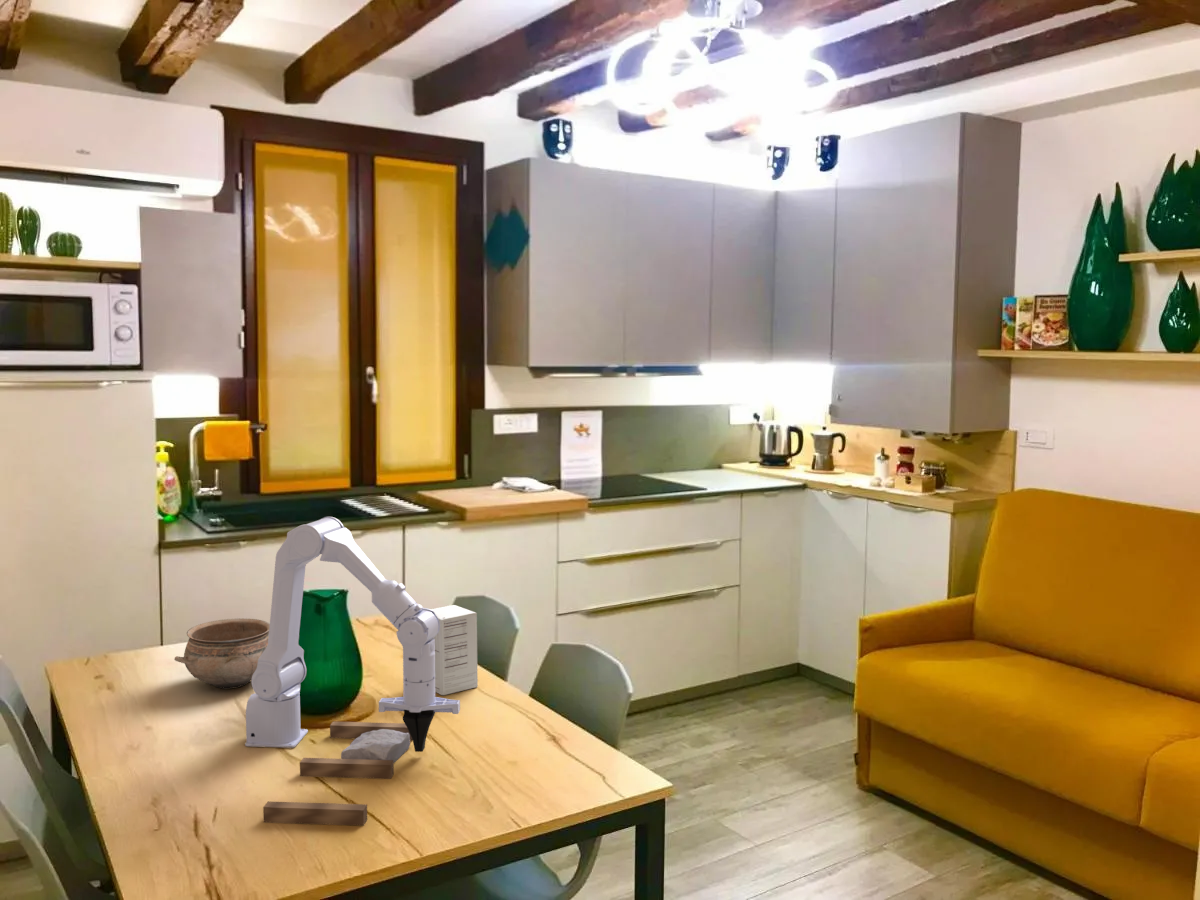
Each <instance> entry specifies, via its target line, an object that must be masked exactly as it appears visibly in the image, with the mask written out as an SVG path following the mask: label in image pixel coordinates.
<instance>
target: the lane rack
mask: <svg viewBox="0 0 1200 900" xmlns="http://www.w3.org/2000/svg"><path fill="white" fill-rule="evenodd" d="M380 729H388V730H395V731H399V732H403V733H409V735H410V732H409V730H408V728H407V726H406V725H405V723H404V722H403V723H400V722H399V723H398V722H371V721H370V722H368V721H367V722H365V721H364V722H362V721H332V722H331V723H330V725H329V733H330V734H329V738H330V739H352V740H355V739H356V738H358V737H360V736H361V734H363V733H366V732H370V731H377V730H380ZM410 741H413V740H412V737H411V735H410ZM394 764H395V763H394V761H393V760H366V759H341V758H327V757H326V758H324V757H303V758H302V759H301V760H300V761H299V776H300V777H315V778H316V777H318V778H321V777H322V778H350V779H351V778H352V779H377V780H378V779H383V780H385V779H387V780H391V779H392V778H393V776H394V774H395V768H394ZM262 811H263V813H262V814H263V818H262V819H263V823H275V824H277V823H278V824H279V823H280V824H306V825H307V824H309V825H337V826H342V825H343V826H365V824H366V822H367V820H368V804H367V803H365V804H362V803H361V804H359V803H330V802H300V801H299V802H297V801H296V802H295V801H270V800H269V801H267V802H266V803H265V805H264V806H263V807H262Z"/></svg>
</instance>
